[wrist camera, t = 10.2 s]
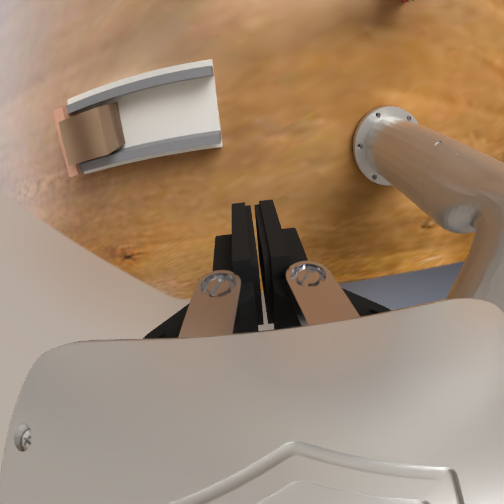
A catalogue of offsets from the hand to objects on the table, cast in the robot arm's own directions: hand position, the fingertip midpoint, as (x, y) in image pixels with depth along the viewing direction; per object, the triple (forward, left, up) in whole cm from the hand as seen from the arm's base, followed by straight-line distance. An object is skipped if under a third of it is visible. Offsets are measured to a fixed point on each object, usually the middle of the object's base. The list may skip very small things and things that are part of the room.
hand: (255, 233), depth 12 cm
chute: (+13, -4, -27) cm, 30 cm away
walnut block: (+19, -4, -26) cm, 32 cm away
